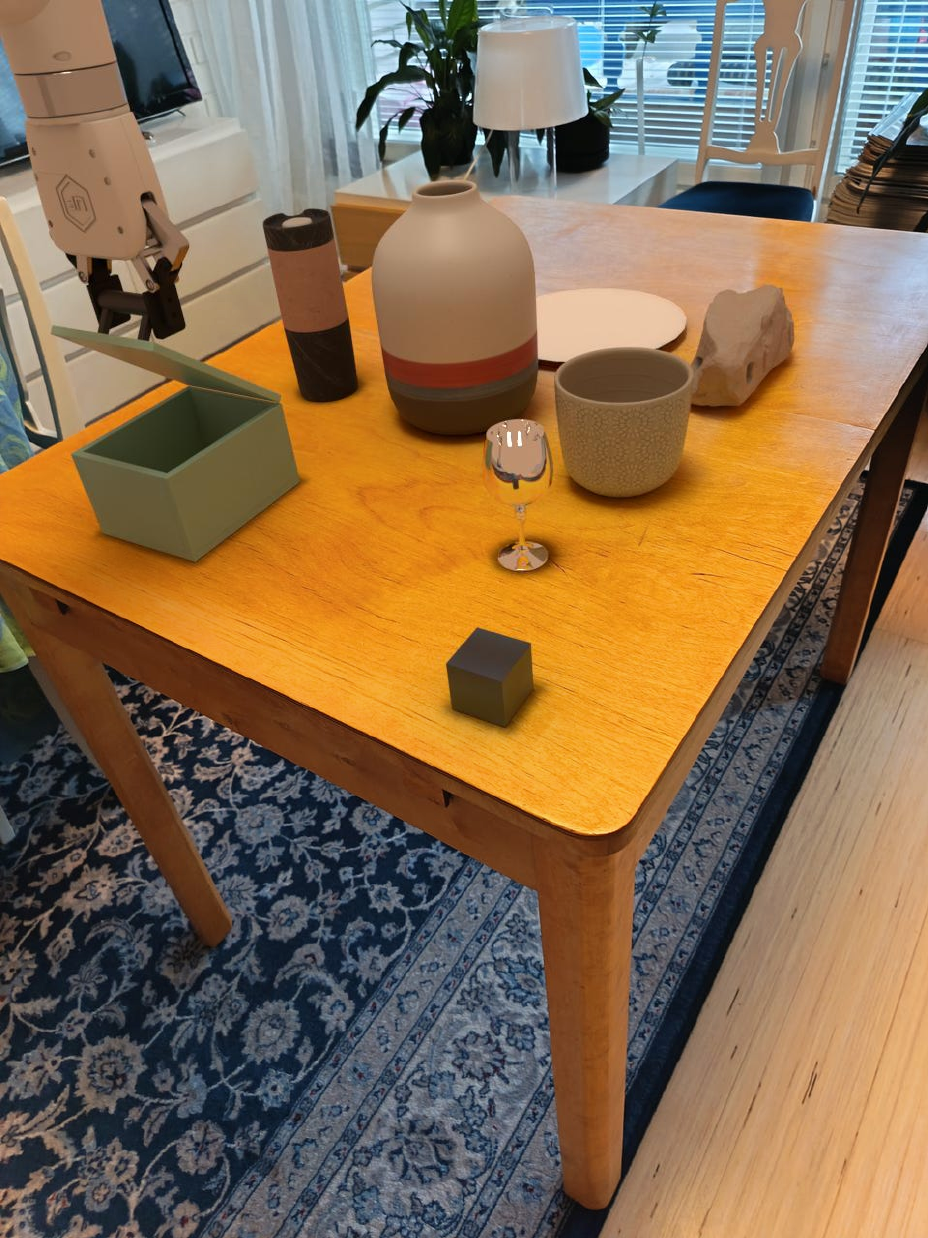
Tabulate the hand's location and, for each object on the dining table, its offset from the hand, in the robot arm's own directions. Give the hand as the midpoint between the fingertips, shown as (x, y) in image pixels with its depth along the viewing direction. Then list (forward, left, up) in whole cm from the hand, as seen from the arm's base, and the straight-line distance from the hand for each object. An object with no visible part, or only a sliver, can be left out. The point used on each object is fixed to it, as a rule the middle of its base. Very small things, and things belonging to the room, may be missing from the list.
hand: (142, 327), depth 79 cm
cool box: (0, 0, -19) cm, 19 cm away
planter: (+41, -8, -19) cm, 46 cm away
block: (+23, -35, -19) cm, 46 cm away
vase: (+29, +12, -19) cm, 37 cm away
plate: (+48, +29, -19) cm, 60 cm away
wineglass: (+29, -18, -19) cm, 39 cm away
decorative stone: (+60, +9, -19) cm, 63 cm away
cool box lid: (+1, +1, -5) cm, 5 cm away
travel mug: (+14, +24, -19) cm, 34 cm away
